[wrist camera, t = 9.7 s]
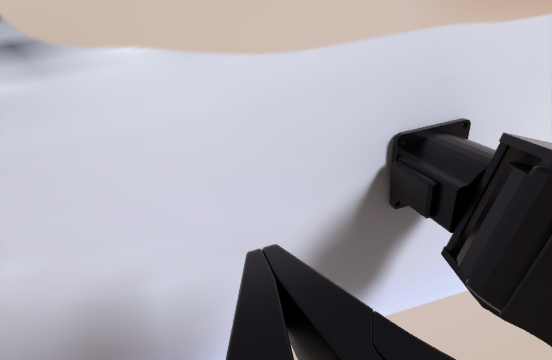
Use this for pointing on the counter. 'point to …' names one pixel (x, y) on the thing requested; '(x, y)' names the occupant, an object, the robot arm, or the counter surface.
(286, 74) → the counter surface
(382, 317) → the robot arm
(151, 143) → the counter surface
